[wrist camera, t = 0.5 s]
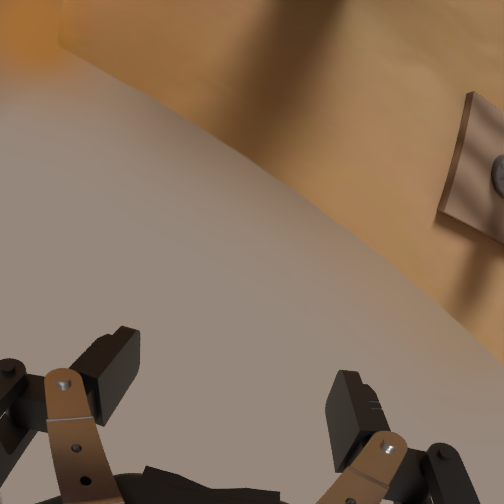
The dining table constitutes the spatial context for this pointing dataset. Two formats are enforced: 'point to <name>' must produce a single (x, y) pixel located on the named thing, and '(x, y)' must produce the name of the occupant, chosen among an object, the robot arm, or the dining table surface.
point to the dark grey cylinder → (498, 175)
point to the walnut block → (476, 169)
